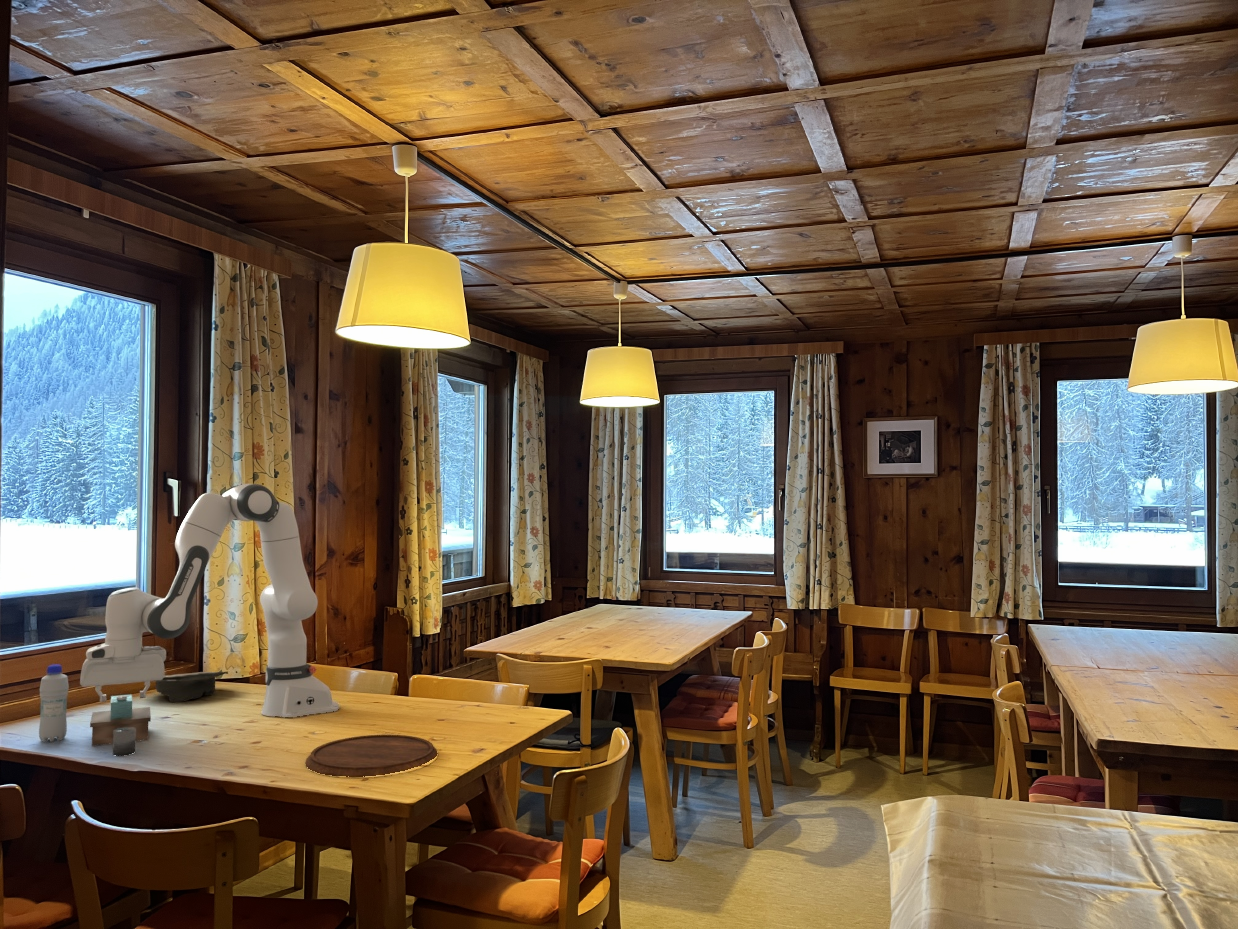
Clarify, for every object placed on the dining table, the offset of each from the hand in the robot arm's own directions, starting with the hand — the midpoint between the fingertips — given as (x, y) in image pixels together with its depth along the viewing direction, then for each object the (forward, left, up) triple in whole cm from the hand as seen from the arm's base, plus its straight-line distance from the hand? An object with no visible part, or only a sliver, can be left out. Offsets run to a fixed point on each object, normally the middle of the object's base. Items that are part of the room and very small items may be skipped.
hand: (123, 699), depth 246 cm
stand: (0, 0, -10) cm, 10 cm away
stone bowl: (-18, -49, -10) cm, 53 cm away
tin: (-1, +18, -10) cm, 21 cm away
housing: (0, +1, -4) cm, 4 cm away
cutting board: (-56, +51, -11) cm, 76 cm away
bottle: (+16, -5, -10) cm, 20 cm away
